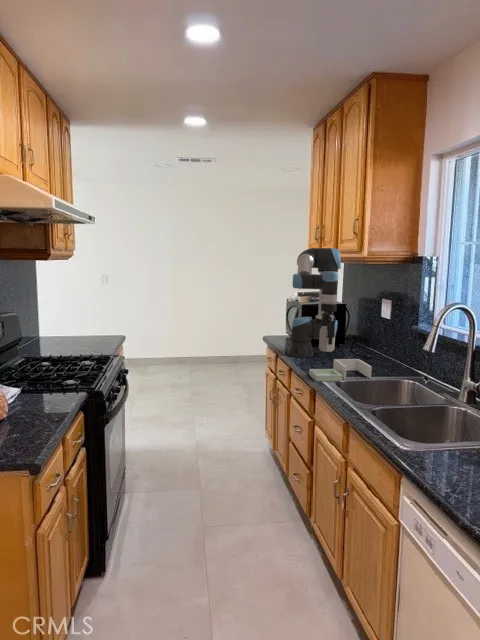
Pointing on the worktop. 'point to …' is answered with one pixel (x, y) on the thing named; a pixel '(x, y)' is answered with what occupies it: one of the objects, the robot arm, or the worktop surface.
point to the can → (324, 339)
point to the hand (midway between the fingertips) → (326, 349)
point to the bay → (352, 367)
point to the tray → (325, 375)
